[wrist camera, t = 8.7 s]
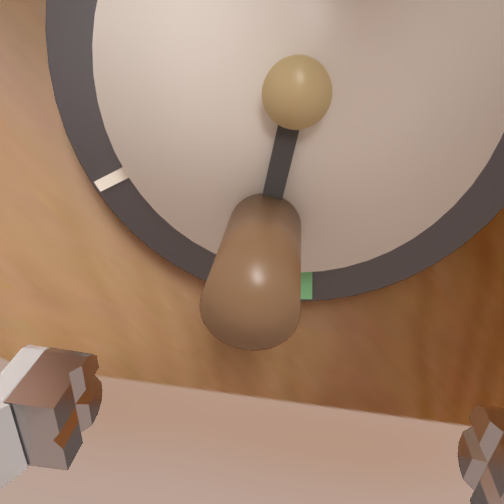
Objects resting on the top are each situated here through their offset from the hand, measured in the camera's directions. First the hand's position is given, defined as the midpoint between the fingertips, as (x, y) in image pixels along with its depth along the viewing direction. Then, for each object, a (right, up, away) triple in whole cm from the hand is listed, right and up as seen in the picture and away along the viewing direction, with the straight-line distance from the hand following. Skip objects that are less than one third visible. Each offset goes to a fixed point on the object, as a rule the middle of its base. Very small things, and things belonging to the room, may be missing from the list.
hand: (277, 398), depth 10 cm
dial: (+1, +9, +8) cm, 12 cm away
